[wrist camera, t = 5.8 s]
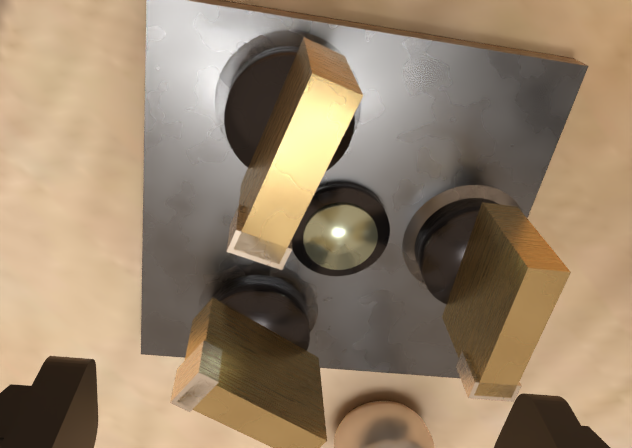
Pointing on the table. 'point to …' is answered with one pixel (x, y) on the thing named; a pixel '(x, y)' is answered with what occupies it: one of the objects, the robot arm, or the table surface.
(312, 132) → the knob
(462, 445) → the table surface
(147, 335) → the plate
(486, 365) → the knob
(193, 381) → the knob
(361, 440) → the plastic bottle
